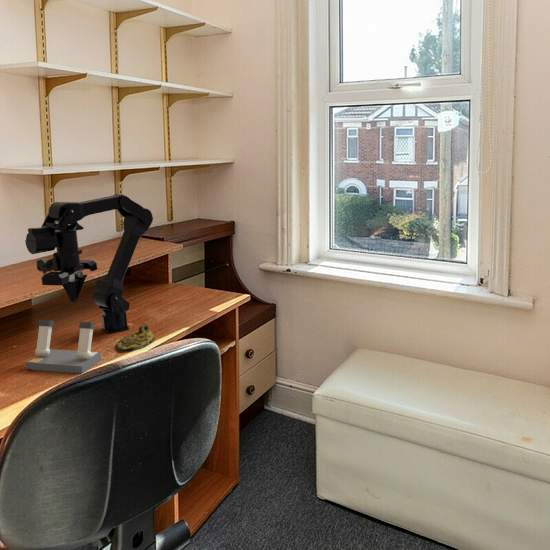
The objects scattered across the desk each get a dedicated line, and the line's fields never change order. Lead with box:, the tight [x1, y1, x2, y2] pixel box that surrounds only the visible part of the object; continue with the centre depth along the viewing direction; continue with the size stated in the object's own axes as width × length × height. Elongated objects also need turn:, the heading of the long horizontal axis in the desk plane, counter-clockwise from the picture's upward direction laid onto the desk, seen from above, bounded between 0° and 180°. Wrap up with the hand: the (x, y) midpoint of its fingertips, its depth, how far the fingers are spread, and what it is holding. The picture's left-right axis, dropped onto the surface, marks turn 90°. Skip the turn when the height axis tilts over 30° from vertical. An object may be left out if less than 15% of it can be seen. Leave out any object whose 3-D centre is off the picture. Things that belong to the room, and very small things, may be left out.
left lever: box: [34, 319, 55, 356], centre depth 146 cm, size 2×3×9 cm, turn 77°
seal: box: [116, 322, 155, 353], centre depth 159 cm, size 9×5×15 cm
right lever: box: [76, 321, 96, 358], centre depth 144 cm, size 2×3×9 cm, turn 77°
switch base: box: [24, 348, 102, 375], centre depth 145 cm, size 9×16×2 cm, turn 77°
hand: (74, 301), depth 159 cm, fingers closed
